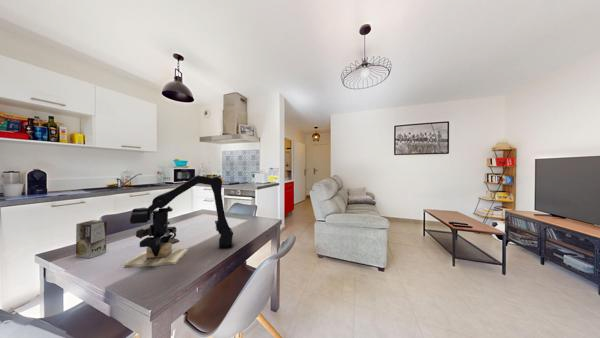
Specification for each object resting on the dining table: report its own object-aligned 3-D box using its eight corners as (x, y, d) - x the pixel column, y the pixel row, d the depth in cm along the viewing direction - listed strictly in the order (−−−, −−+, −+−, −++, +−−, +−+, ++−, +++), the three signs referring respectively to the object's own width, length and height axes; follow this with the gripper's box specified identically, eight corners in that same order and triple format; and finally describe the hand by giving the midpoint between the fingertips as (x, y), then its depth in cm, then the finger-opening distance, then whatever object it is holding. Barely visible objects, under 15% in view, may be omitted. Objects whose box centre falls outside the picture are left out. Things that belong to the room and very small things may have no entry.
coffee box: (107, 252, 89) (107, 220, 89) (90, 258, 83) (91, 224, 83) (92, 250, 90) (93, 219, 90) (74, 257, 84) (75, 223, 84)
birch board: (187, 250, 92) (187, 248, 92) (175, 264, 79) (175, 261, 79) (144, 253, 88) (144, 251, 88) (123, 267, 76) (123, 265, 76)
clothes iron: (180, 241, 105) (178, 227, 102) (161, 254, 94) (158, 238, 92) (172, 239, 107) (169, 224, 104) (152, 251, 96) (148, 235, 94)
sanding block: (171, 252, 87) (171, 242, 87) (165, 257, 82) (166, 247, 82) (153, 253, 86) (153, 243, 86) (146, 259, 81) (146, 248, 81)
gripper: (153, 216, 92) (152, 246, 92) (125, 228, 73) (124, 265, 73) (177, 215, 94) (176, 245, 94) (155, 227, 75) (154, 263, 75)
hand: (159, 253), depth 84 cm, fingers closed on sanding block, 5 cm apart
